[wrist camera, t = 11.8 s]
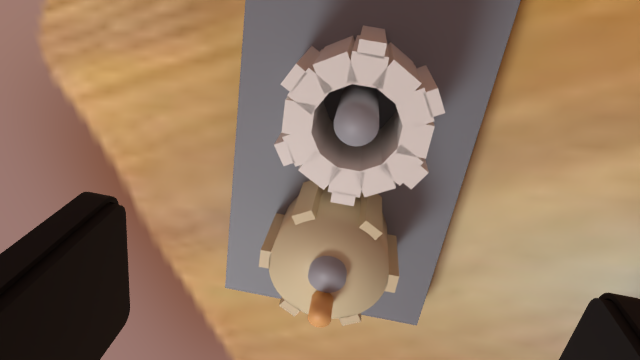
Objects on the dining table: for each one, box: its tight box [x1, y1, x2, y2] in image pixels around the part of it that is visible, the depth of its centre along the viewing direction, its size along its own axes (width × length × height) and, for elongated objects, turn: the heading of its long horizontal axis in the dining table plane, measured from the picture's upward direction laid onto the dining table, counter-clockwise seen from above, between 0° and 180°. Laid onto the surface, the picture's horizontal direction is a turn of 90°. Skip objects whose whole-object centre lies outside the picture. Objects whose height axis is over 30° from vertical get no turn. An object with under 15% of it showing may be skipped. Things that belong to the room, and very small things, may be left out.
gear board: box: [225, 0, 521, 327], centre depth 24 cm, size 22×13×8 cm, turn 172°
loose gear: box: [274, 25, 445, 206], centre depth 22 cm, size 7×7×5 cm
